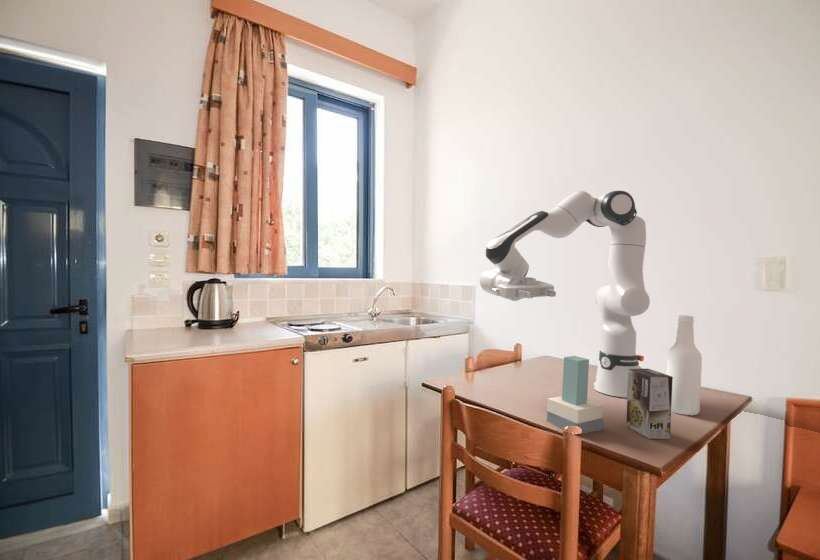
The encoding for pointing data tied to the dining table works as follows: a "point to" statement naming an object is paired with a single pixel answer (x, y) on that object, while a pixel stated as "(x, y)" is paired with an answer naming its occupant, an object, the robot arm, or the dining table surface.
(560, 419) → the slab bottom
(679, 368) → the alcohol
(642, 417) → the coffee box
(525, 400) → the dining table surface
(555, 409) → the slab top
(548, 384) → the dining table surface
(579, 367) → the teal post
